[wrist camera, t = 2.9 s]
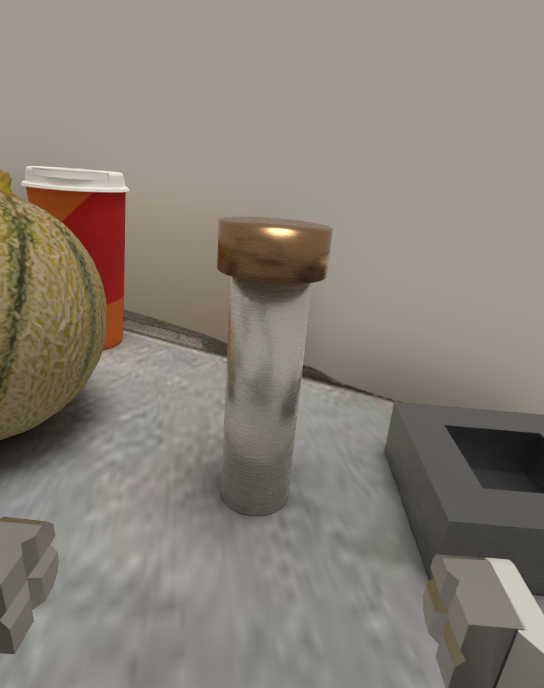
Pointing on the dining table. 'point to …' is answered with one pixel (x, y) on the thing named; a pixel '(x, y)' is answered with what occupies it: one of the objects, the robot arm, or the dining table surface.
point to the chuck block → (472, 483)
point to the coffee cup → (89, 225)
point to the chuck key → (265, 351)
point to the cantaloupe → (44, 314)
